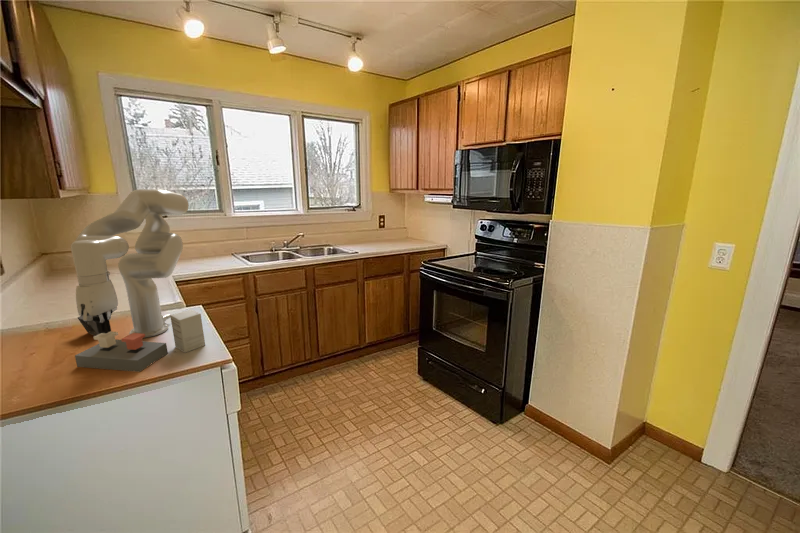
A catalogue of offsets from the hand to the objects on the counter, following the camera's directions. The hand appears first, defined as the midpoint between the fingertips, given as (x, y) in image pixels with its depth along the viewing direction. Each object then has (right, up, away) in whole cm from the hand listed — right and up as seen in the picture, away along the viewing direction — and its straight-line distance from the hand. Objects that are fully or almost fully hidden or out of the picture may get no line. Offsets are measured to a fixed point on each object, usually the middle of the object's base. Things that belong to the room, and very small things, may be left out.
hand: (104, 332), depth 116 cm
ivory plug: (0, -5, +1) cm, 5 cm away
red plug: (+10, -5, 0) cm, 11 cm away
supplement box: (+21, -8, +12) cm, 26 cm away
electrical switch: (-20, -5, +20) cm, 29 cm away
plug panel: (+5, -10, +2) cm, 11 cm away
